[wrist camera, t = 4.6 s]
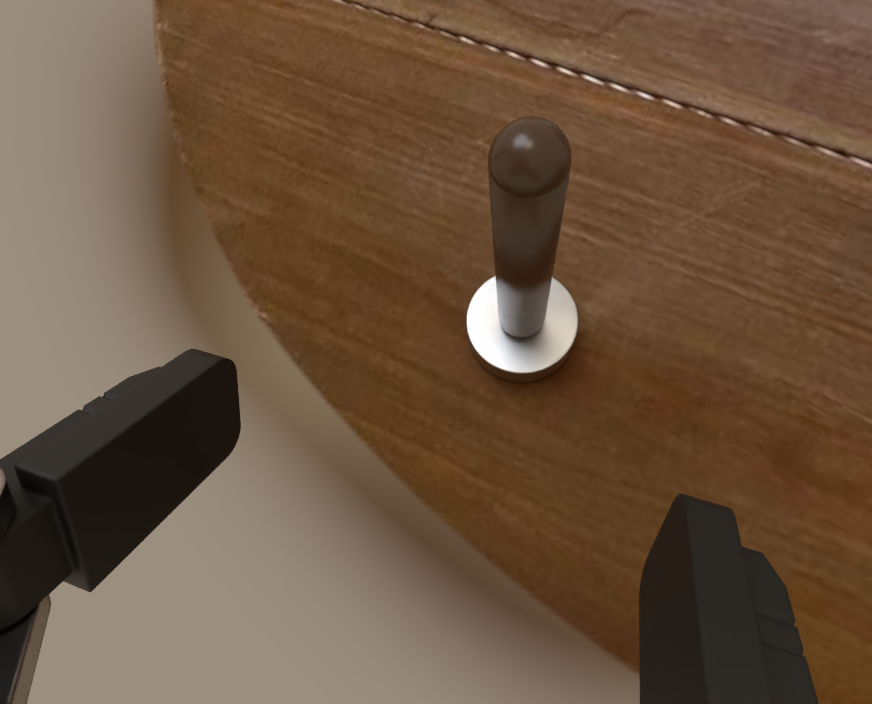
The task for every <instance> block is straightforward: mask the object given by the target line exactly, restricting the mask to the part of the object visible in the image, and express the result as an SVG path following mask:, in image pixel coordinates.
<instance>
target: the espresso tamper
mask: <svg viewBox="0 0 872 704" xmlns="http://www.w3.org/2000/svg"><path fill="white" fill-rule="evenodd" d="M570 168H571V148H570V145H569V142H568V139H567V137H566V135H565V134H564V132H563V131H562V130H561V129H560V128H559V127H558V126H557V125H556V124H555V123H553V122H552V121H550V120H547V119H545V118H541V117H534V116H531V117H523V118H519V119H516V120H514V121H512V122H510V123H509V124H507V125H506V126H505V127H504V128H503V129H502V130H501V131H500V132H499V133H498V134H497V136H496V137H495V138H494V141H493V143H492V145H491V147H490V151H489V156H488V172H489V186H490V201H491V216H492V231H493V246H494V260H495V276H493V277H492V278H490V279H489V280H487V281H486V282H485V283H483V284H482V285H481V286H480V287H479V289H478V290H477V291H476V292H475V294H474V295H473V297H472V299H471V301H470V303H469V306H468V310H467V314H466V329H467V334H468V338H469V342H470V346H471V349H472V351H473V353H474V356H475V357H476V359H477V360H478V362H479V363H480V364H481V365H482V366H483V367H484V368H485V369H486V370H487V371H489V372H490V373H492V374H493V375H495V376H497V377H499V378H501V379H504V380H507V381H512V382H531V381H536V380H539V379H542V378H544V377H546V376H549V375H550V374H552V373H553V372H555V371H556V370H557V369H558V368H559V367H560V366H561V365H562V364H563V363H564V362H565V361H566V359H567V358H568V356H569V354H570V352H571V350H572V347H573V344H574V341H575V338H576V335H577V332H578V324H579V318H578V311H577V307H576V304H575V302H574V299H573V298H572V296H571V294H570V293H569V291H568V290H567V289H566V288H565V287H564V286H563V285H562V284H561V283H560V282H559V281H558V280H556V279H555V278H553V277H552V275H553V269H554V263H555V257H556V251H557V245H558V239H559V233H560V227H561V221H562V215H563V209H564V203H565V198H566V192H567V186H568V180H569V174H570Z"/></svg>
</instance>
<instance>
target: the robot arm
mask: <svg viewBox="0 0 872 704" xmlns="http://www.w3.org/2000/svg"><path fill="white" fill-rule="evenodd" d="M240 428H241V423H240V410H239V395H238V383H237V370H236V366H235V364H234V362H233V361H232V360H230V359H227V358H224V357H221V356H217V355H214V354H210V353H207V352H204V351H200V350H196V349H190V350H187V351H185V352H184V353H182V354H181V355H179V356H178V357H176V358H175V359H173V360H172V361H170V362H169V363H167V364H166V365H164V366H163V367H157V368H154V369H151V370H148V371H145V372H142V373H140V374H137V375H134V376H131V377H128V378H127V379H125V380H124V381H122V382H121V383H119V384H118V385H116V386H115V387H113V388H111V389H110V390H108V391H107V392H105V393H104V396H103V397H100V396H99V397H97V398H96V399H94V400H93V401H91V402H89V403H88V404H86V405H85V406H84V408H83V410H77V411H75V412H74V413H72V414H71V415H69V416H68V417H66V418H64V419H63V420H61V421H60V422H58V423H57V424H55V425H53V426H52V427H50V428H49V429H47V430H46V431H44V432H43V433H41V434H39V435H38V436H37V437H35V438H33V439H32V440H30V441H28V442H27V443H25V444H24V445H22V446H21V447H19V448H17V449H16V450H14V451H13V452H11V453H10V454H8V455H7V456H5V457H3V458H2V459H0V704H27V700H28V696H29V692H30V688H31V684H32V680H33V676H34V672H35V668H36V664H37V660H38V656H39V652H40V648H41V644H42V640H43V636H44V632H45V628H46V624H47V620H48V616H49V612H50V606H51V601H50V596H49V594H50V593H51V592H52V591H53V590H54V589H55V588H56V587H57V586H58V585H59V584H60V583H62V581H65V582H67V583H69V584H72V585H74V586H76V587H79V588H81V589H84V590H86V591H88V592H91V591H92V590H93V589H94V588H96V586H97V585H99V583H100V582H102V581H103V579H105V578H106V577H107V576H108V575H109V574H110V573H111V572H112V571H113V570H114V569H115V568H116V567H117V566H118V565H119V564H120V563H121V562H122V561H123V560H124V559H125V558H126V557H127V556H128V555H129V554H130V553H131V552H132V551H133V550H134V549H135V548H136V547H137V546H138V545H139V544H140V543H141V542H142V541H143V540H144V539H145V538H146V537H147V536H148V535H149V534H150V533H151V532H152V531H153V530H154V529H155V528H156V527H157V526H158V525H159V524H160V523H161V522H162V521H163V520H164V519H165V518H166V517H167V516H168V515H169V514H170V513H171V512H172V511H173V510H174V509H175V508H176V507H177V506H178V505H179V504H180V503H181V502H182V501H183V500H185V498H187V497H188V496H189V495H190V493H192V491H194V490H195V489H196V488H197V486H198V485H199V484H201V483H202V481H204V480H205V479H206V478H207V477H208V476H209V475H210V474H211V473H212V472H213V471H214V470H215V469H216V468H217V467H218V466H219V465H220V464H221V463H222V462H223V461H224V460H225V459H226V458H227V457H228V456H229V455H230V453H231V452H232V450H233V449H234V447H235V445H236V443H237V440H238V438H239V434H240ZM794 622H795V618H794V614H793V611H792V607H791V604H790V600H789V596H788V593H787V589H786V586H785V585H784V583H783V582H782V580H781V579H780V577H779V576H778V575H777V573H776V572H775V570H774V569H773V567H772V566H771V565H770V563H769V562H768V560H767V559H766V557H765V556H764V554H763V553H760V552H757V551H754V550H751V549H747V548H744V547H742V546H741V541H740V536H739V532H738V527H737V522H736V518H735V514H734V512H733V510H732V509H731V508H729V507H725V506H722V505H718V504H715V503H712V502H708V501H705V500H701V499H698V498H695V497H691V496H688V495H684V494H679V495H677V497H676V498H675V499H674V501H673V503H672V505H671V507H670V510H669V512H668V514H667V516H666V518H665V520H664V522H663V525H662V527H661V529H660V531H659V533H658V535H657V537H656V540H655V542H654V544H653V546H652V548H651V550H650V552H649V555H648V557H647V559H646V562H645V565H644V569H643V573H642V578H641V583H640V593H639V630H640V704H818V700H817V696H816V693H815V689H814V686H813V682H812V679H811V675H810V671H809V668H808V664H807V661H806V657H803V656H802V652H803V646H802V643H801V639H800V636H799V632H798V629H797V627H794Z"/></svg>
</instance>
